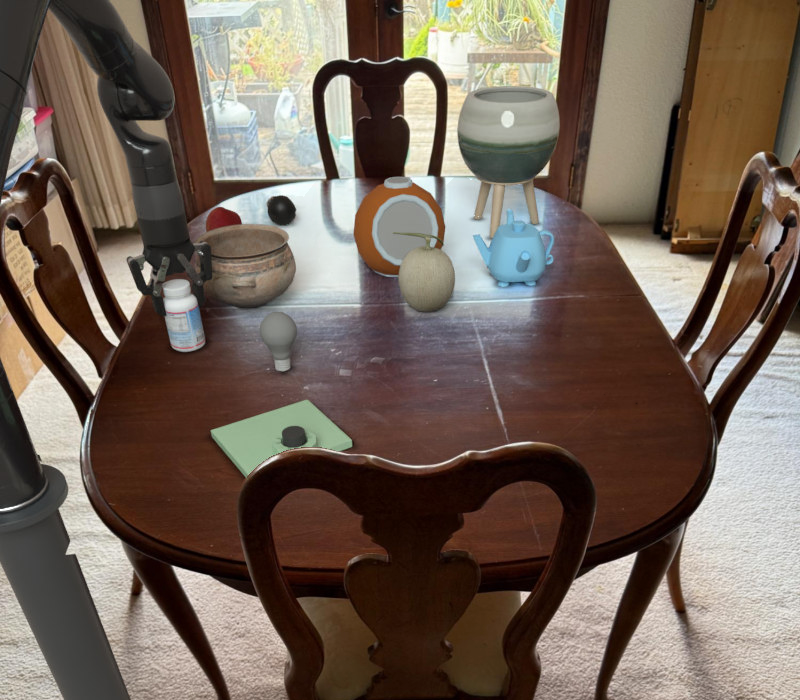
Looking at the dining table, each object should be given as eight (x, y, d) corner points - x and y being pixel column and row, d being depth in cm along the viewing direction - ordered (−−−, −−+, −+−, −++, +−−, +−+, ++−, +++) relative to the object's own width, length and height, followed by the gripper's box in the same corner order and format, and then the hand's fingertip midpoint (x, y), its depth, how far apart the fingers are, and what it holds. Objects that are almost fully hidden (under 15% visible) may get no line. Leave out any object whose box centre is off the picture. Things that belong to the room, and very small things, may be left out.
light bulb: (296, 379, 128) (289, 322, 122) (261, 377, 129) (252, 320, 123) (305, 362, 133) (299, 306, 127) (271, 360, 134) (263, 304, 127)
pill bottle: (195, 334, 142) (183, 274, 135) (212, 346, 139) (200, 284, 131) (165, 344, 139) (151, 283, 132) (181, 356, 136) (167, 294, 129)
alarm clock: (362, 286, 158) (357, 197, 147) (349, 255, 171) (344, 171, 160) (453, 277, 161) (456, 189, 150) (434, 248, 174) (435, 165, 163)
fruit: (466, 303, 151) (469, 223, 141) (434, 324, 143) (435, 242, 134) (421, 291, 155) (421, 214, 146) (388, 312, 148) (385, 232, 139)
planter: (454, 212, 193) (457, 84, 175) (544, 211, 192) (556, 83, 174) (455, 243, 176) (459, 106, 158) (554, 243, 175) (569, 104, 157)
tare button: (289, 451, 107) (287, 440, 106) (279, 440, 109) (277, 430, 108) (310, 444, 109) (308, 433, 108) (299, 433, 111) (298, 423, 110)
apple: (241, 249, 176) (235, 212, 171) (205, 249, 176) (199, 213, 171) (246, 237, 182) (241, 201, 177) (212, 238, 182) (206, 202, 177)
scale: (253, 487, 106) (250, 468, 104) (211, 437, 115) (208, 419, 113) (356, 450, 112) (354, 432, 110) (308, 405, 122) (306, 388, 120)
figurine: (265, 193, 182) (269, 181, 197) (262, 223, 185) (266, 209, 200) (298, 200, 183) (299, 188, 198) (294, 230, 186) (295, 215, 202)
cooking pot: (209, 280, 162) (198, 220, 154) (300, 275, 163) (294, 215, 155) (195, 332, 143) (181, 266, 135) (298, 327, 144) (291, 261, 136)
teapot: (463, 278, 160) (465, 222, 153) (505, 260, 167) (509, 205, 160) (522, 299, 152) (527, 240, 144) (564, 279, 159) (571, 222, 152)
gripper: (194, 196, 129) (212, 293, 140) (108, 212, 124) (133, 313, 134) (211, 207, 125) (228, 308, 135) (122, 225, 119) (147, 328, 129)
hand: (181, 310), depth 135 cm, fingers closed on pill bottle, 6 cm apart
